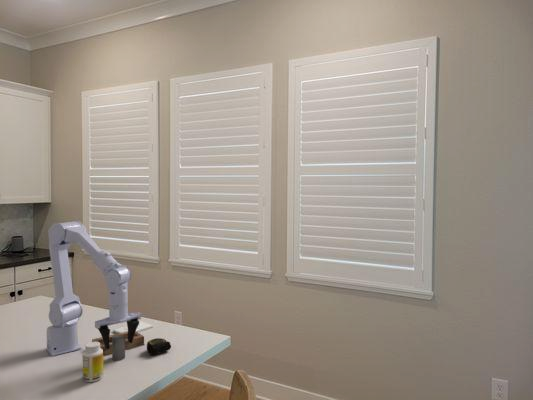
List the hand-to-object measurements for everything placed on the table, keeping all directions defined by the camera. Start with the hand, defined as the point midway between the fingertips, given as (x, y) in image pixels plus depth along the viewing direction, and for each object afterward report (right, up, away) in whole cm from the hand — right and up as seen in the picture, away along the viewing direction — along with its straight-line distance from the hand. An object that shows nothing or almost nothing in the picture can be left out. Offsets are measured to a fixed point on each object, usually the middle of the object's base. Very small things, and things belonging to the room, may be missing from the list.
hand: (118, 344), depth 133 cm
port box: (-4, -4, +10) cm, 11 cm away
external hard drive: (-4, -4, +26) cm, 27 cm away
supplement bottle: (-2, -5, -14) cm, 15 cm away
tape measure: (+12, -5, +5) cm, 14 cm away
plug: (0, -4, 0) cm, 4 cm away
